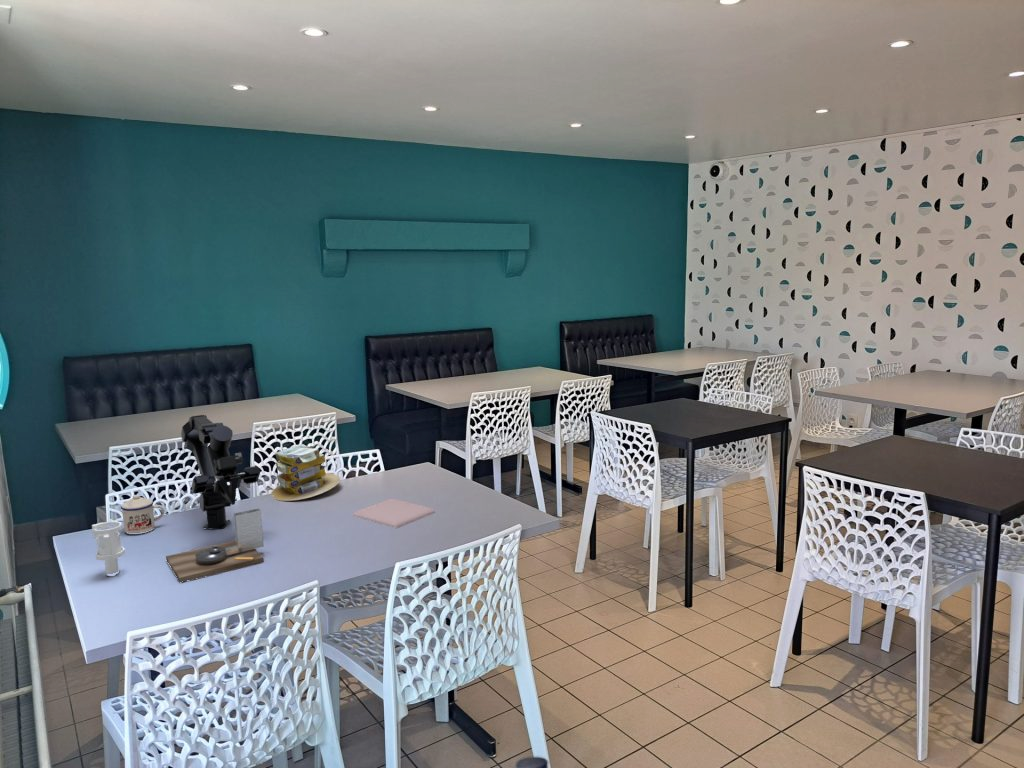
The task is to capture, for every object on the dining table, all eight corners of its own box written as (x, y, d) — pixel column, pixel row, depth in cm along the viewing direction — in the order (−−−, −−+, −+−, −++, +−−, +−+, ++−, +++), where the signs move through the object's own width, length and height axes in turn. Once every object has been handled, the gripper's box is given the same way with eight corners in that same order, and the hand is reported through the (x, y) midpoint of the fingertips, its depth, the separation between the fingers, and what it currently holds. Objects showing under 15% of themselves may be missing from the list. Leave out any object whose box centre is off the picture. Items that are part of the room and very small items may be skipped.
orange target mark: (234, 560, 205) (234, 558, 205) (236, 558, 207) (236, 557, 206) (252, 560, 205) (251, 559, 205) (253, 558, 206) (253, 557, 206)
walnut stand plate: (166, 561, 209) (165, 556, 209) (245, 543, 222) (245, 538, 221) (180, 583, 195) (179, 577, 194) (263, 562, 207) (263, 557, 207)
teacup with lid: (125, 538, 227) (121, 502, 226) (122, 529, 235) (118, 494, 233) (167, 530, 234) (163, 494, 232) (163, 521, 241) (160, 487, 239)
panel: (375, 498, 264) (375, 492, 263) (445, 516, 244) (444, 509, 243) (294, 527, 236) (293, 520, 236) (364, 550, 216) (364, 542, 216)
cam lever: (199, 566, 200) (196, 527, 198) (192, 557, 206) (189, 519, 205) (267, 550, 210) (264, 513, 208) (258, 542, 217) (255, 505, 215)
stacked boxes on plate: (276, 506, 255) (273, 459, 252) (266, 487, 277) (262, 444, 274) (347, 495, 265) (345, 450, 263) (331, 477, 287) (329, 436, 285)
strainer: (94, 574, 201) (88, 522, 199) (122, 566, 206) (116, 515, 203) (102, 582, 196) (96, 528, 194) (130, 573, 201) (125, 521, 198)
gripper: (190, 450, 212) (203, 496, 205) (255, 440, 222) (270, 483, 215) (186, 470, 220) (198, 515, 213) (250, 459, 230) (263, 502, 223)
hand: (233, 503), depth 216 cm, fingers closed
